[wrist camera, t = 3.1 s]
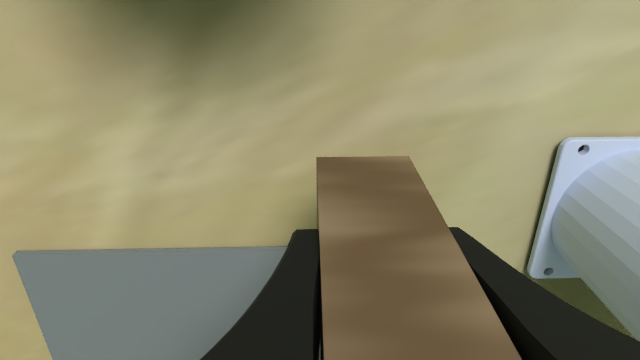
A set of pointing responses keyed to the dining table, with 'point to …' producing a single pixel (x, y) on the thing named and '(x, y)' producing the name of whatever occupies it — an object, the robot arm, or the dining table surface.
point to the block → (395, 270)
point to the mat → (142, 298)
